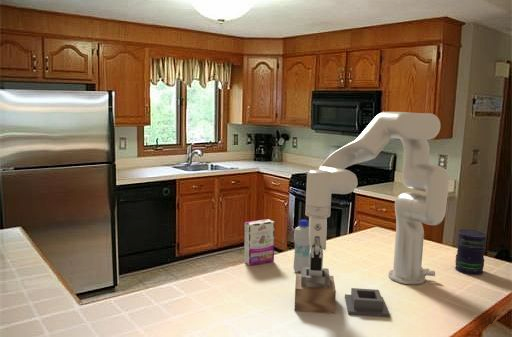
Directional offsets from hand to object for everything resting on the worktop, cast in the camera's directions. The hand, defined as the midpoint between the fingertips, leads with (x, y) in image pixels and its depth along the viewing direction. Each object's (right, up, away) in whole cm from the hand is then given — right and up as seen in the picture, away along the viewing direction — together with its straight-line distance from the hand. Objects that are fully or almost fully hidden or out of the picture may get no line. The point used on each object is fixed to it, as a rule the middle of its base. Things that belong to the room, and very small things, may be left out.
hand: (315, 264), depth 134 cm
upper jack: (0, -13, +2) cm, 13 cm away
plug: (0, -6, +1) cm, 6 cm away
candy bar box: (-17, -7, +38) cm, 42 cm away
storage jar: (+64, -10, +33) cm, 72 cm away
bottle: (-1, -9, +28) cm, 29 cm away
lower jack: (+16, -13, 0) cm, 21 cm away
